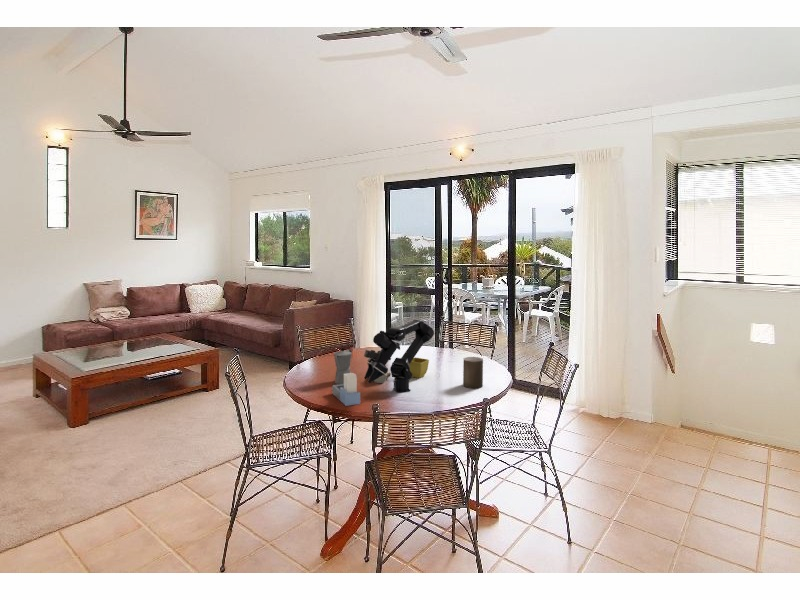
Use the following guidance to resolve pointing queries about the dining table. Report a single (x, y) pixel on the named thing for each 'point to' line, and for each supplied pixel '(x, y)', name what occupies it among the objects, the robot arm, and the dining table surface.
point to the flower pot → (418, 367)
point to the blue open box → (337, 390)
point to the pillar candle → (473, 372)
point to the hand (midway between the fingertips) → (366, 380)
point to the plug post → (350, 382)
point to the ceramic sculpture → (382, 378)
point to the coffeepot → (342, 364)
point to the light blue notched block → (349, 397)
